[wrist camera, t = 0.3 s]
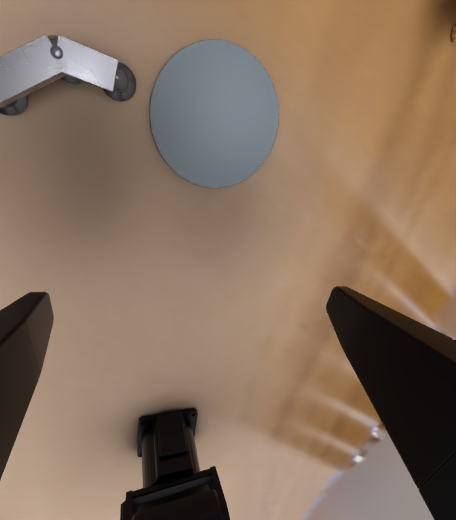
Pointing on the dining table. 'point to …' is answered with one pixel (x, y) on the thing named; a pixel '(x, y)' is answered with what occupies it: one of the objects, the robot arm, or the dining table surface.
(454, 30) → the lion figurine
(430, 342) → the robot arm
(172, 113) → the mat
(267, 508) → the dining table surface
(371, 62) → the dining table surface
